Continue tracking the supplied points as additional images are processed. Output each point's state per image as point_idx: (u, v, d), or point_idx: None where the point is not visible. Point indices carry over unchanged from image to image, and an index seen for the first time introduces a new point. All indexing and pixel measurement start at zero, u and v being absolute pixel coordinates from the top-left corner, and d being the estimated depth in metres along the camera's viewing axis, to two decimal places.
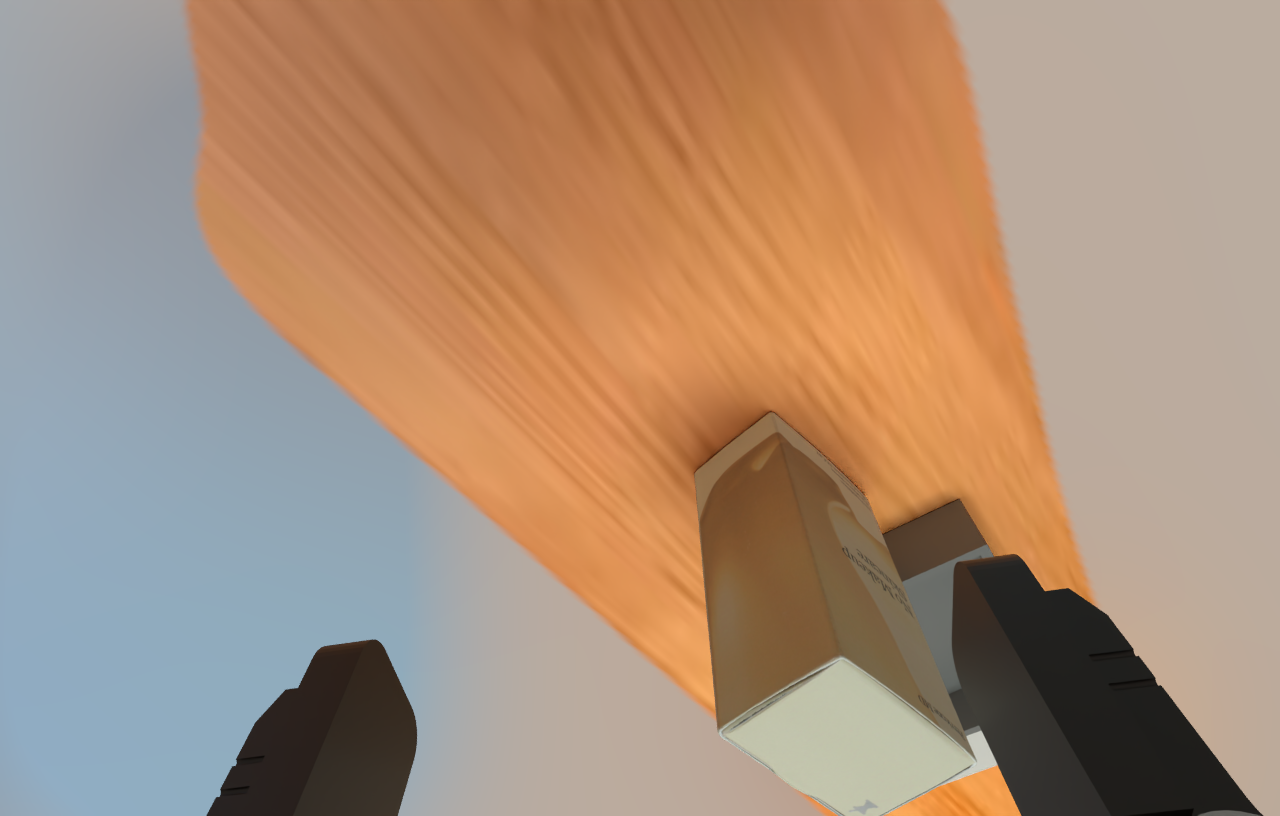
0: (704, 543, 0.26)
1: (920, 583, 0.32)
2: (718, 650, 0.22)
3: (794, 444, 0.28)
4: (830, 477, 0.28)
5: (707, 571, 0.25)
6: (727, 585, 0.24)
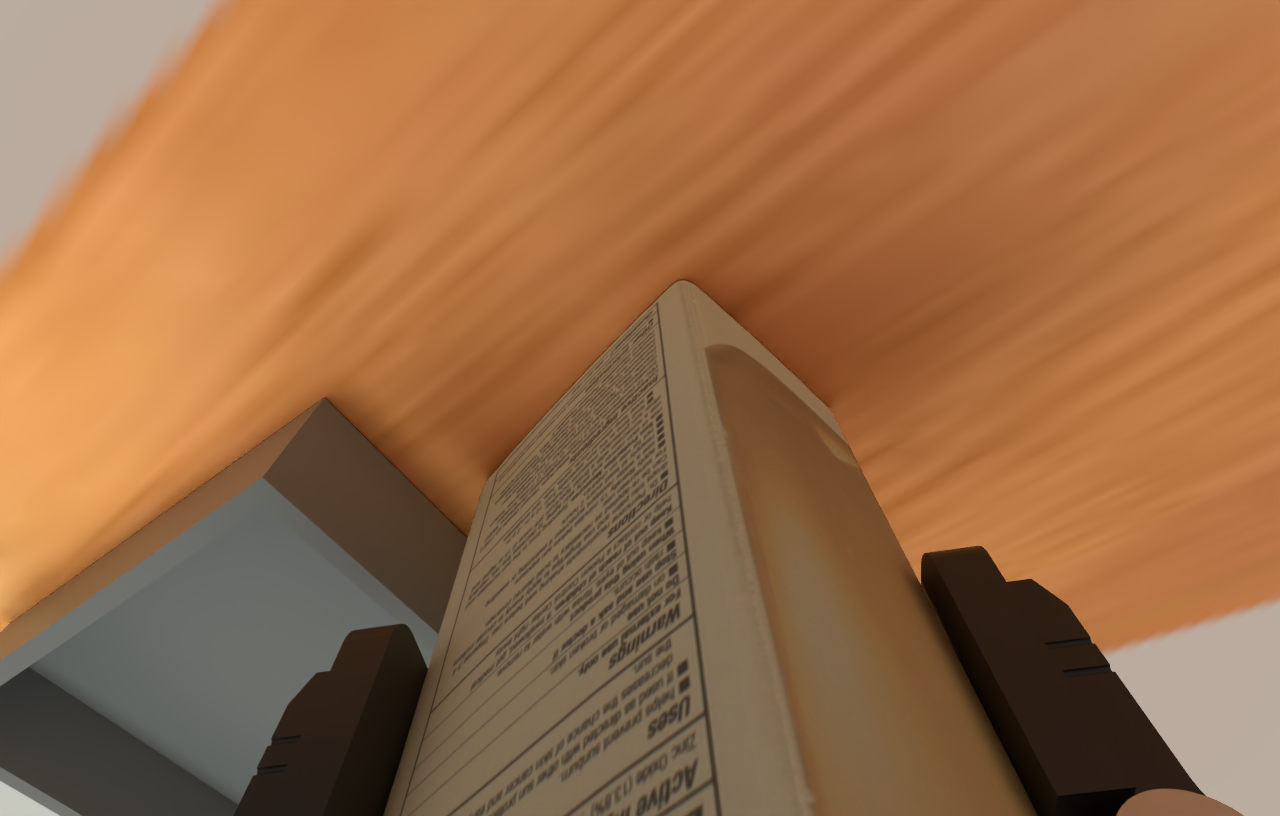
0: (724, 395, 0.10)
1: None
2: (817, 706, 0.05)
3: None
4: None
5: (741, 453, 0.08)
6: (809, 559, 0.08)
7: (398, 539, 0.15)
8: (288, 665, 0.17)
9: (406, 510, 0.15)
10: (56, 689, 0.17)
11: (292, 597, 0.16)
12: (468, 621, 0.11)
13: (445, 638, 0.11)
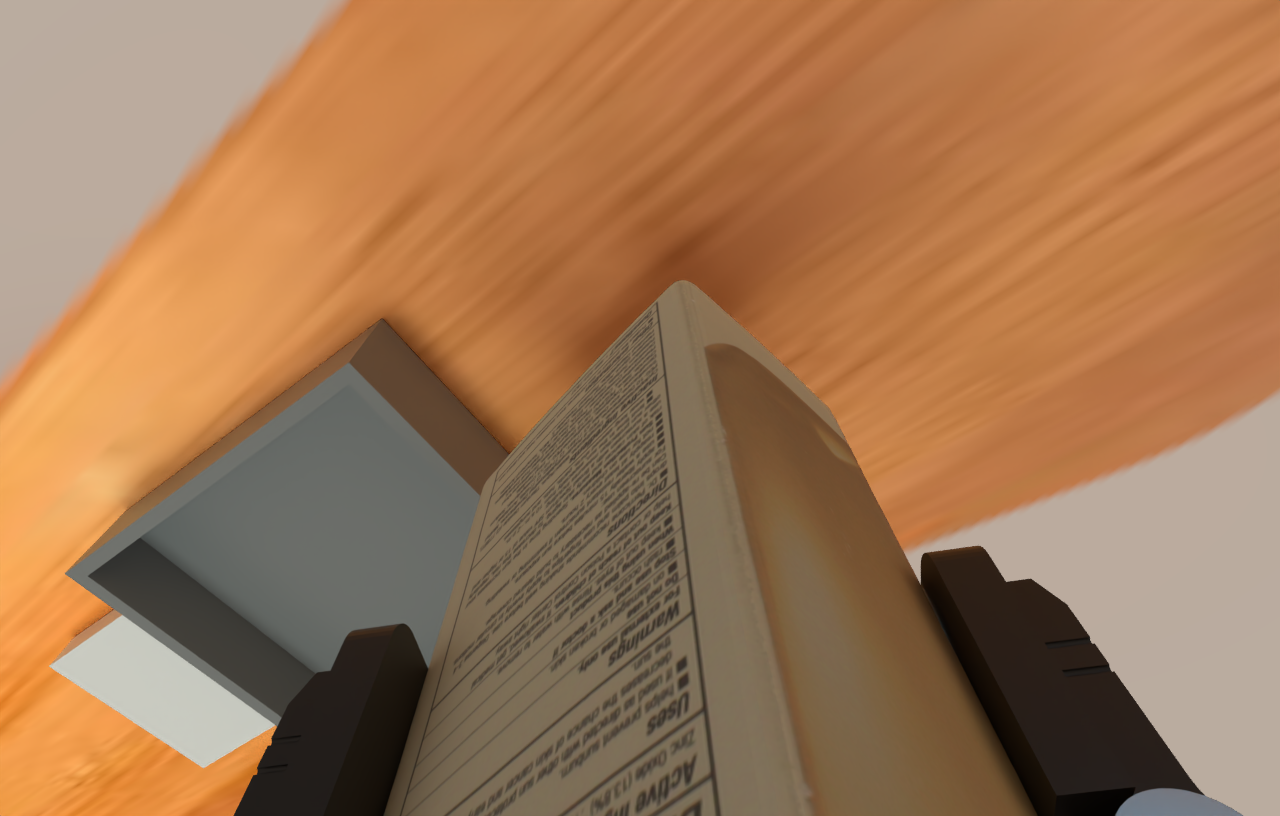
0: (723, 394, 0.10)
1: None
2: (814, 703, 0.05)
3: None
4: None
5: (740, 451, 0.09)
6: (807, 556, 0.08)
7: (440, 421, 0.20)
8: (348, 536, 0.22)
9: (444, 403, 0.20)
10: (165, 560, 0.22)
11: (354, 477, 0.21)
12: (468, 620, 0.11)
13: (446, 636, 0.11)
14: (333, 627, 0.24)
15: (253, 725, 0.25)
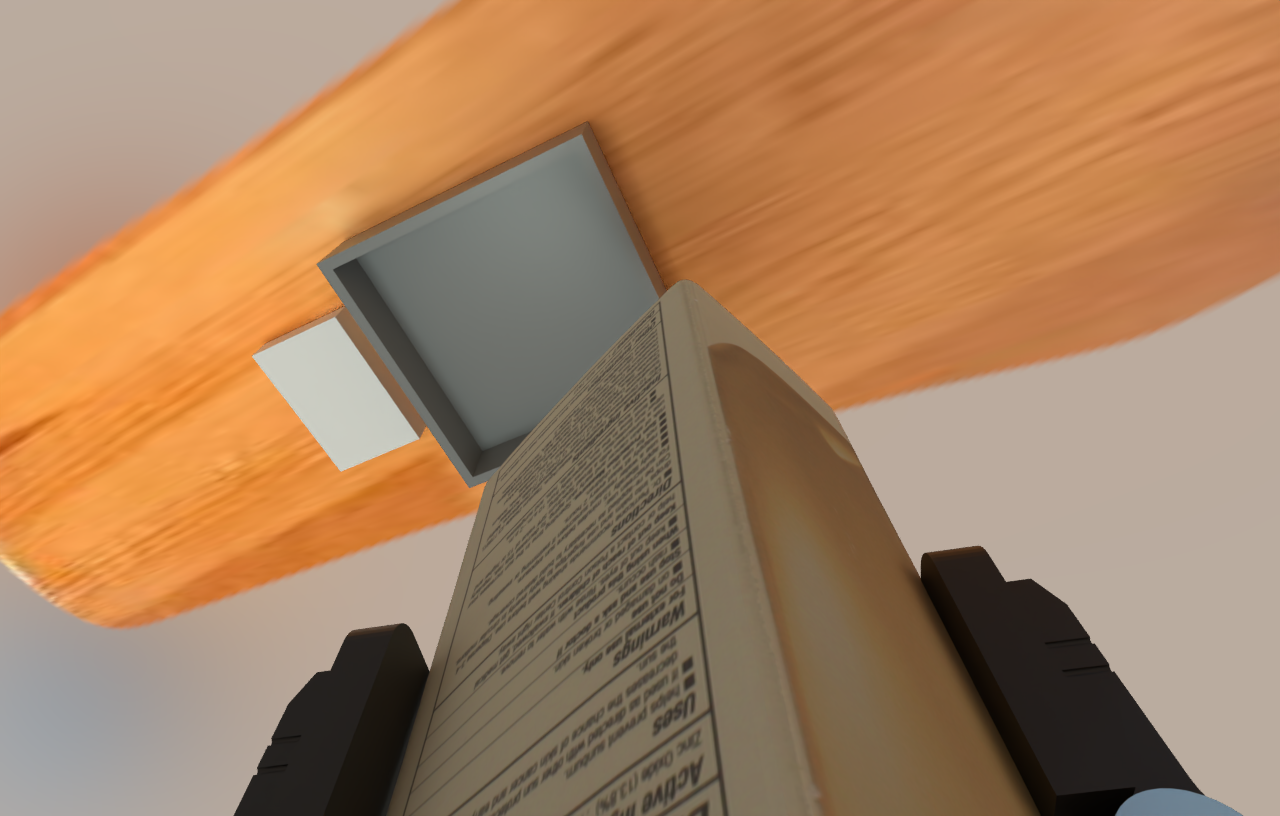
0: (727, 393, 0.10)
1: (610, 333, 0.30)
2: (822, 704, 0.05)
3: None
4: None
5: (745, 451, 0.08)
6: (813, 557, 0.08)
7: (619, 202, 0.27)
8: (515, 290, 0.29)
9: (618, 194, 0.27)
10: (370, 282, 0.29)
11: (535, 242, 0.28)
12: (470, 620, 0.11)
13: (448, 636, 0.11)
14: (479, 367, 0.31)
15: (393, 439, 0.32)
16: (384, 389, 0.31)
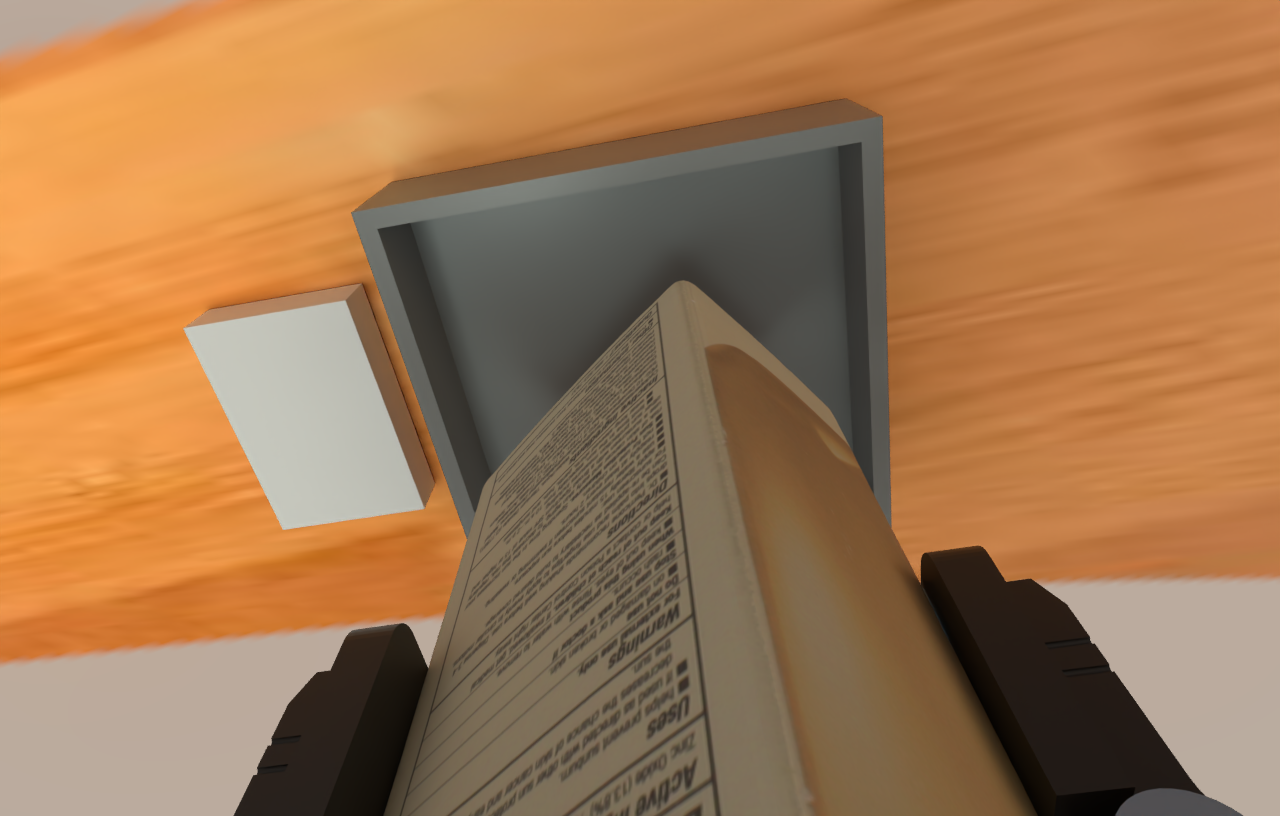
0: (724, 395, 0.10)
1: None
2: (815, 706, 0.05)
3: None
4: None
5: (741, 453, 0.08)
6: (808, 559, 0.08)
7: None
8: None
9: None
10: (420, 260, 0.17)
11: (704, 263, 0.18)
12: (467, 621, 0.11)
13: (445, 638, 0.11)
14: None
15: (381, 501, 0.20)
16: (392, 427, 0.19)
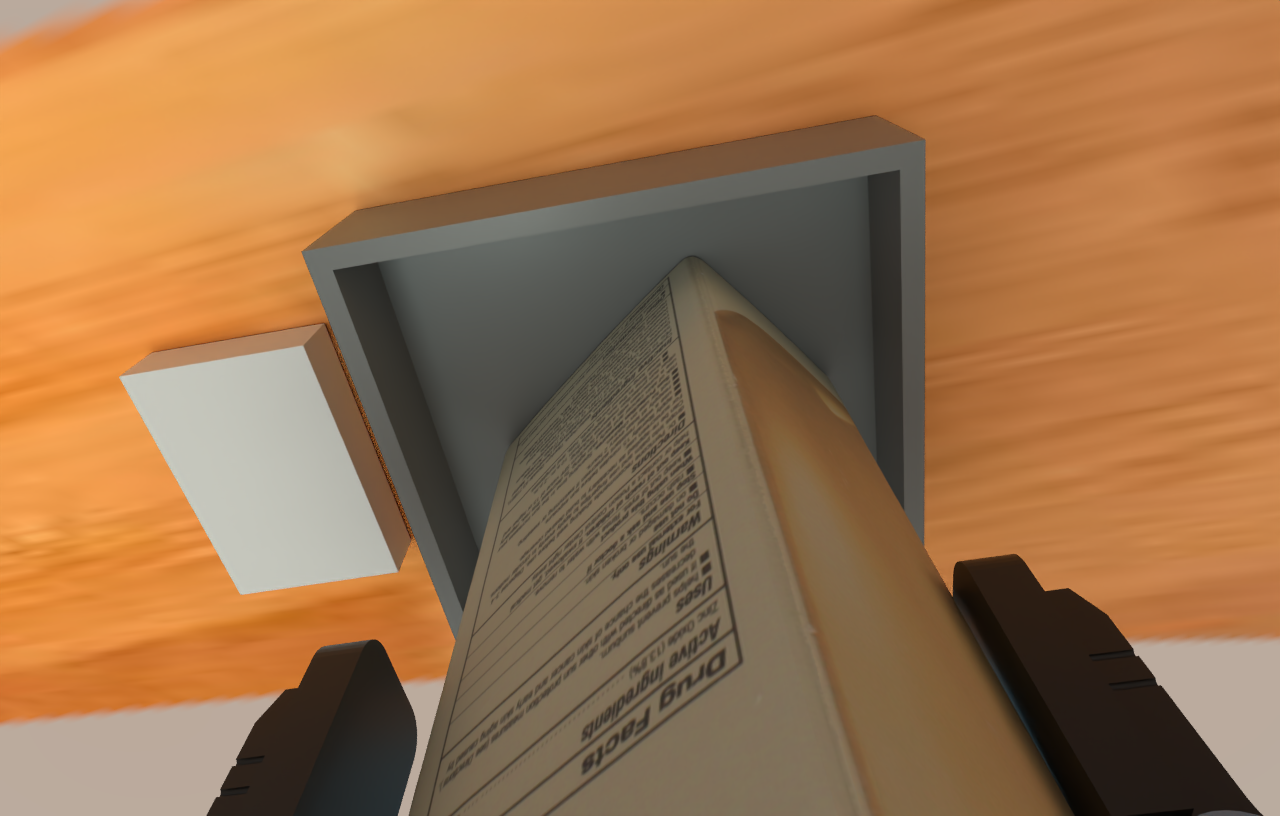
0: (733, 350, 0.11)
1: None
2: (818, 576, 0.07)
3: None
4: None
5: (750, 395, 0.10)
6: (810, 479, 0.09)
7: None
8: None
9: None
10: (388, 300, 0.15)
11: None
12: (501, 560, 0.12)
13: (480, 577, 0.13)
14: None
15: (350, 564, 0.18)
16: (360, 484, 0.17)
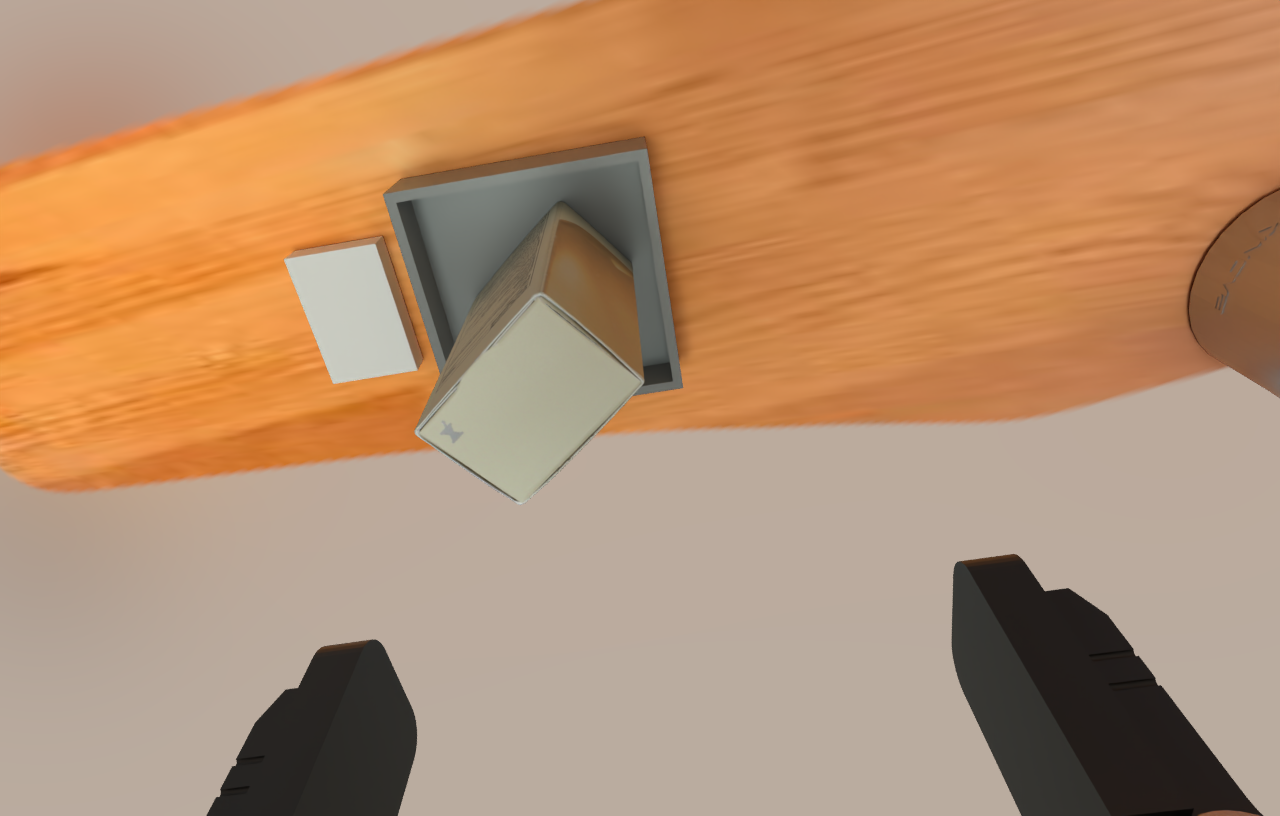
0: (561, 230, 0.28)
1: None
2: (556, 272, 0.24)
3: None
4: None
5: (559, 241, 0.27)
6: (574, 264, 0.26)
7: None
8: None
9: None
10: (416, 222, 0.32)
11: None
12: (469, 323, 0.29)
13: (460, 333, 0.29)
14: None
15: (392, 365, 0.35)
16: (399, 318, 0.34)
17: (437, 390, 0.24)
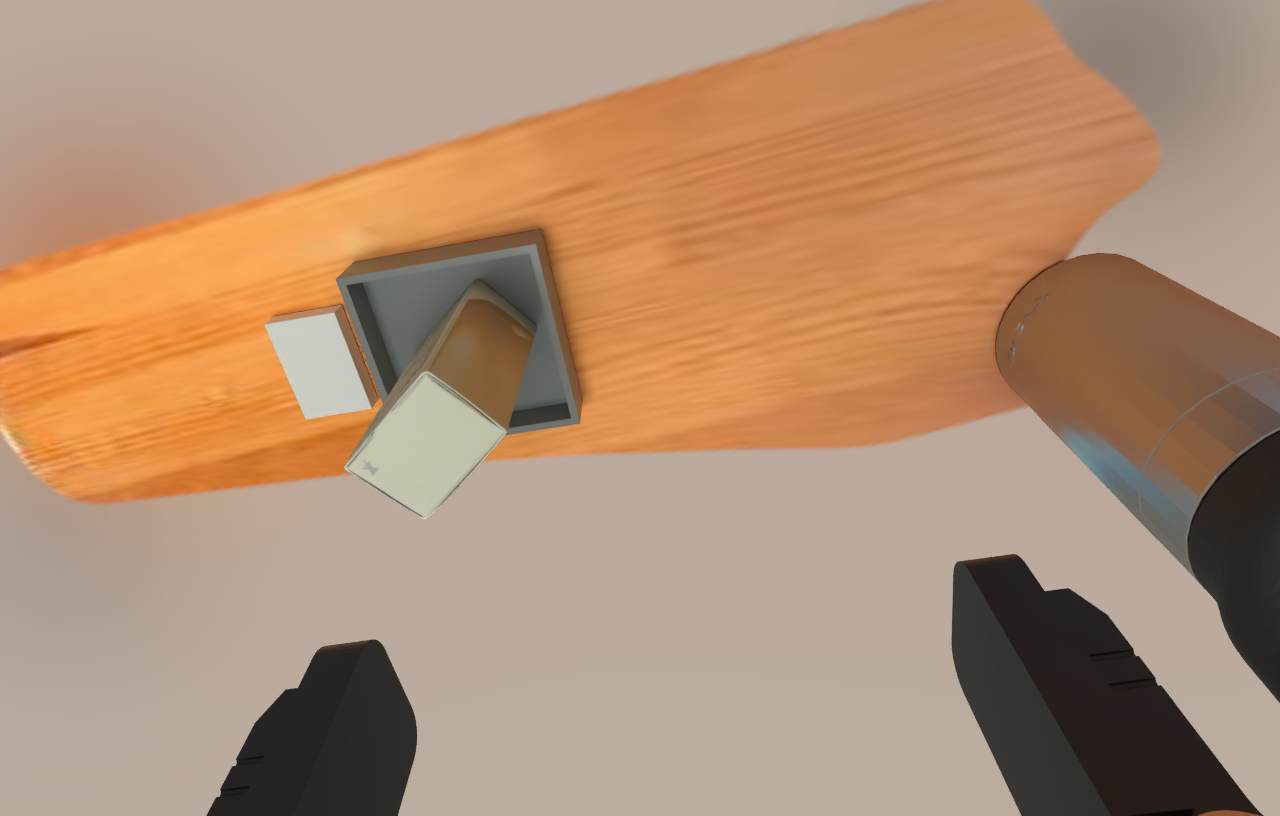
0: (466, 310, 0.37)
1: None
2: (447, 351, 0.32)
3: None
4: None
5: (461, 320, 0.35)
6: (468, 340, 0.34)
7: (550, 287, 0.40)
8: None
9: (551, 280, 0.41)
10: (366, 295, 0.41)
11: None
12: (400, 378, 0.38)
13: (394, 386, 0.38)
14: None
15: (351, 405, 0.44)
16: (355, 369, 0.43)
17: (364, 435, 0.33)
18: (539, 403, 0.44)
